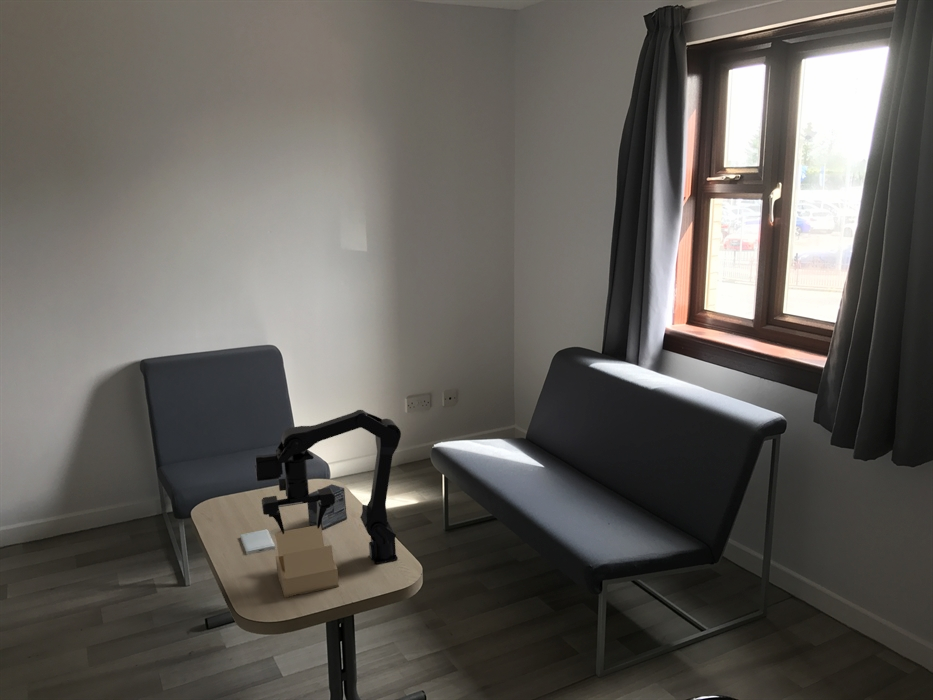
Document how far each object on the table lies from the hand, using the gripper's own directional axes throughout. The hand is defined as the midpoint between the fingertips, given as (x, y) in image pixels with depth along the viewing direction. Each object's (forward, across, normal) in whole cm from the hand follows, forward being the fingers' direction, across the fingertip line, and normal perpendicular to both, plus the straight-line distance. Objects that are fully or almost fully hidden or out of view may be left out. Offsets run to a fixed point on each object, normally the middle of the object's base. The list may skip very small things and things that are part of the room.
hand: (300, 530), depth 210 cm
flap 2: (+4, 0, +11) cm, 11 cm away
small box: (+12, -11, -30) cm, 34 cm away
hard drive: (+13, +11, -23) cm, 28 cm away
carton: (+12, 0, +5) cm, 13 cm away
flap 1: (+4, 0, -4) cm, 6 cm away
